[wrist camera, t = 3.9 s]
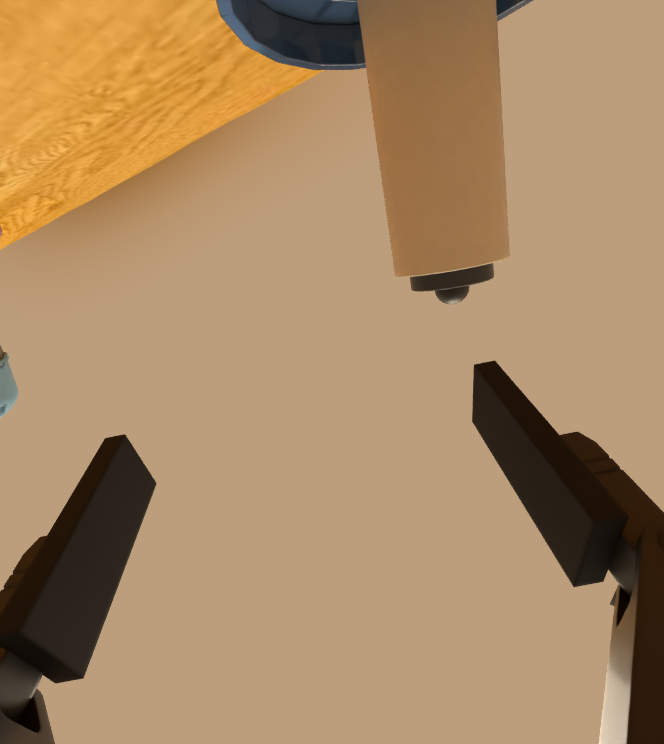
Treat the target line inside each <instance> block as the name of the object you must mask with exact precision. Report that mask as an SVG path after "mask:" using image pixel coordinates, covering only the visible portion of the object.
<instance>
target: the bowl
mask: <svg viewBox="0 0 664 744" xmlns="http://www.w3.org/2000/svg"><path fill="white" fill-rule="evenodd" d="M531 1H533V0H496V11H497V21H499V20H501V19H502V18H504V17H506V16H508V15H509V14H511V13H513V12H514V11H516V10H517V9H519V8H521V7H523V6H525V5H526V4H528V3H530V2H531ZM216 3H217V7H218V11H219V14H220V16H221V18H222V19H223V20H224V21H225V22H226V24H227V25H228V26H229V27H230V28H231V29H232V31H233V32H234V33H235V34H236V35H237V36H238V38H239V39H240V40H241V41H242V42H243V44H244V45H246V46H247V47H249V48H251V49H253V50H254V51H256V52H258V53H260V54H262V55H264V56H266V57H268V58H270V59H272V60H274V61H275V62H278V63H282V64H287V65H292V66H297V67H302V68H307V69H312V70H353V69H360V68H366V62H365V55H364V47H363V40H362V33H361V26H360V18H359V11H358V4H357V0H216Z"/></svg>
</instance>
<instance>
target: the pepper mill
mask: <svg viewBox="0 0 664 744" xmlns="http://www.w3.org/2000/svg"><path fill="white" fill-rule="evenodd" d="M357 4H358V11H359V18H360V26H361V33H362V40H363V47H364V55H365V62H366V69H367V76H368V83H369V91H370V98H371V105H372V112H373V120H374V127H375V134H376V140H377V148H378V156H379V163H380V170H381V177H382V185H383V192H384V199H385V206H386V213H387V221H388V227H389V235H390V242H391V249H392V257H393V264H394V270H395V276H396V277H410V281H411V289H412V290H413V291H435V293H436V296H437V297H438V298H439V300H440V301H442V302H443V303H446V304H456V303H459V302H461V301H462V300H463V299H464V298H465V297H466V296H467V294H468V292H469V285H473V284H477V283H481V282H484V281H487V280H490V279H492V278H493V277H494V270H493V263H494V262H498V261H501V260H504V259H507V258H508V257H509V256H510V253H509V235H508V216H507V199H506V198H507V197H506V179H505V160H504V141H503V123H502V104H501V87H500V86H501V85H500V69H499V48H498V31H497V30H498V29H497V11H496V0H357Z"/></svg>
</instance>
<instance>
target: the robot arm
mask: <svg viewBox="0 0 664 744" xmlns="http://www.w3.org/2000/svg"><path fill="white" fill-rule="evenodd" d="M8 359H9V357H8V355H7V353H6V352H3V350H2V348H1V346H0V418H1V417H2V416H3V415H5V414H6V413H7V412H8V411H9V410H10V409H11V408H12V407H13V405H14V404H15V402H16V400H17V397H18V388H17V385H16V382H15V380H14V377H13V374H12V371H11V369H10V366H9V363H8ZM472 422H473V424H474V425H475V427H476V428H477V430H478V432H479V433H480V435H481V437H482V438H483V440H484V441H485V443H486V445H487V446H488V448H489V450H490V451H491V453H492V454H493V456H494V458H495V459H496V461H497V463H498V464H499V466H500V468H501V469H502V471H503V472H504V474H505V476H506V477H507V479H508V481H509V482H510V484H511V485H512V487H513V489H514V490H515V492H516V494H517V495H518V497H519V499H520V500H521V502H522V503H523V505H524V506H525V508H526V510H527V512H528V513H529V515H530V517H531V518H532V520H533V521H534V523H535V524H536V526H537V528H538V530H539V531H540V533H541V534H542V536H543V538H544V539H545V541H546V543H547V544H548V546H549V547H550V549H551V550H552V552H553V554H554V556H555V557H556V559H557V560H558V562H559V564H560V565H561V567H562V568H563V570H564V572H565V574H566V575H567V577H568V578H569V580H570V582H571V583H572V585H573V587H577V586H582V585H587V584H593V583H598V582H603V581H604V578H605V576H606V573H607V571H608V569H609V571H610V572H611V574H612V575H613V576H614V578H615V579H616V581H617V582H618V583H619V585H618V587H617V589H616V592H615V594H614V596H613V598H612V601H611V603H610V605H613V606H615V607H614V616H613V625H612V634H611V643H610V651H609V660H608V669H607V678H606V686H605V695H604V705H603V713H602V721H601V731H600V739H599V744H664V512H663V511H662V510H661V509H659V507H658V506H657V505H656V504H655V503H654V502H653V501H652V500H651V499H650V498H649V497H648V496H647V495H646V494H645V493H644V492H643V491H642V490H641V488H640V487H638V486H637V485H636V483H635V482H634V481H633V480H632V479H631V478H630V477H629V476H628V475H627V474H626V473H625V472H624V471H623V470H621V469H620V467H619V466H618V465H617V464H616V463H615V462H614V460H613V459H610V458H609V455H608V454H607V453H606V452H605V451H604V450H603V449H602V448H601V447H600V446H599V445H598V444H597V443H596V442H595V441H593V440H591V439H590V438H588V437H586V436H584V435H583V434H581V433H579V432H573V433H568V434H563V435H559V434H558V433H557V432H556V431H555V429H554V428H553V427H552V426H551V425H550V424H549V423H548V421H547V420H546V419H545V418H544V417H543V416H542V415H541V413H539V411H538V410H537V409H536V408H535V406H534V405H533V404H532V403H531V402H530V401H529V400H528V398H527V397H526V396H525V395H524V394H523V393H522V391H521V390H520V389H519V388H518V387H517V386H516V385H515V383H514V382H513V381H512V380H511V379H510V378H509V376H507V374H506V373H505V372H504V371H503V370H502V368H501V367H500V366H499V365H498V364H497V363H496V361H491V362H485V363H481V364H476V365H474V380H473V414H472ZM155 486H156V482H155V480H154V479H153V477H152V476H151V474H150V472H149V471H148V469H147V468H146V466H145V465H144V464H143V462H142V460H141V458H140V457H139V455H138V454H137V452H136V451H135V449H134V448H133V446H132V444H131V443H130V441H129V440H128V438H127V437H126V435H119V436H114V437H109V438H105V439H104V441H103V443H102V445H101V446H100V448H99V449H98V451H97V453H96V455H95V456H94V458H93V460H92V461H91V463H90V465H89V466H88V468H87V470H86V471H85V473H84V475H83V476H82V478H81V480H80V482H79V483H78V485H77V487H76V488H75V490H74V492H73V493H72V495H71V497H70V498H69V500H68V502H67V504H66V505H65V507H64V508H63V510H62V512H61V513H60V515H59V517H58V518H57V520H56V522H55V523H54V525H53V527H52V529H51V530H50V532H49V534H48V535H47V536H43V537H40V538H39V539H38V540H37V541H36V542H35V543H34V544H33V545H32V546H31V547H30V548H29V549H28V550H27V551H26V552H25V553H24V555H23V556H22V558H21V560H20V561H19V562H18V564H17V566H16V567H15V569H14V571H13V575H11V576H10V577H9V579H8V580H7V582H6V583H5V585H4V589H3V590H1V592H0V744H55V742H54V738H53V734H52V730H51V726H50V722H49V719H48V715H47V711H46V707H45V703H44V699H43V695H42V694H41V692H40V691H39V690H38V689H37V686H38V684H39V682H40V679H41V677H42V675H44V676H45V677H47V678H48V679H50V680H51V681H53V682H54V683H61V682H66V681H71V680H77V679H82V678H84V675H85V672H86V670H87V667H88V664H89V662H90V659H91V657H92V654H93V651H94V649H95V646H96V643H97V641H98V638H99V635H100V633H101V630H102V627H103V625H104V622H105V619H106V617H107V614H108V611H109V609H110V606H111V603H112V601H113V598H114V595H115V593H116V590H117V587H118V585H119V582H120V579H121V577H122V574H123V572H124V569H125V566H126V563H127V561H128V558H129V556H130V553H131V550H132V548H133V545H134V542H135V540H136V537H137V534H138V532H139V529H140V526H141V524H142V521H143V518H144V516H145V513H146V510H147V507H148V505H149V502H150V499H151V497H152V494H153V491H154V489H155Z"/></svg>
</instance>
